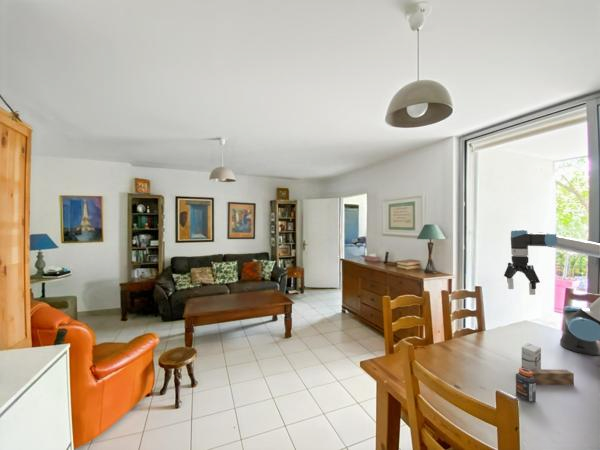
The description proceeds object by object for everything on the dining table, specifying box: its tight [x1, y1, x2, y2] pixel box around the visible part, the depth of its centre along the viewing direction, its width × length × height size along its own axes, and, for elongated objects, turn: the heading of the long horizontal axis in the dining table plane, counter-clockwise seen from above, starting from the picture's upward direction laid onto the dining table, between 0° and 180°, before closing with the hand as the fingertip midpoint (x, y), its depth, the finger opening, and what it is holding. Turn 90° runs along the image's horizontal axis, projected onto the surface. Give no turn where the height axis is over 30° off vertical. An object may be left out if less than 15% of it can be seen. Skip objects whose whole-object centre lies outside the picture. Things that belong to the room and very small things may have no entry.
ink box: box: [521, 342, 542, 369], centre depth 118 cm, size 8×5×12 cm, turn 121°
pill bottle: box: [515, 367, 537, 404], centre depth 99 cm, size 6×6×11 cm
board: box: [528, 368, 575, 386], centre depth 109 cm, size 19×3×5 cm, turn 89°
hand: (521, 291), depth 146 cm, fingers open, 13 cm apart
